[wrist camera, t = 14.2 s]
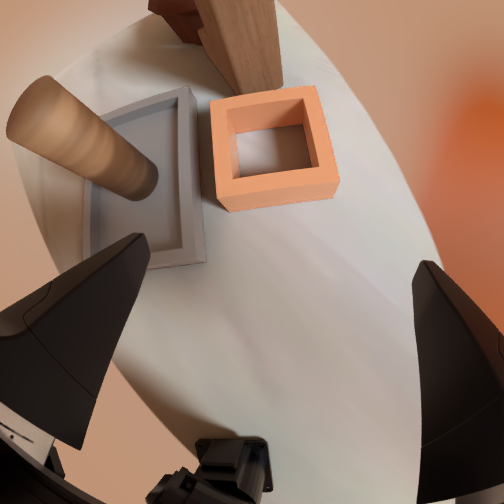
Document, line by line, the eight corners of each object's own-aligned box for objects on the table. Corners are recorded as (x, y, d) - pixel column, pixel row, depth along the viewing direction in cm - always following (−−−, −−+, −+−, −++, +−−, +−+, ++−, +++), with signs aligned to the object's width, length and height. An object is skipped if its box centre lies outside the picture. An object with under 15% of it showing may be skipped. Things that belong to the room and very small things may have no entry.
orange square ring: (332, 198, 22) (340, 181, 18) (229, 212, 23) (216, 198, 19) (313, 112, 23) (315, 85, 19) (221, 125, 24) (209, 101, 20)
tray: (206, 262, 23) (196, 259, 21) (99, 275, 24) (83, 274, 22) (196, 100, 25) (188, 85, 23) (104, 129, 26) (92, 119, 24)
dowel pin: (165, 184, 23) (56, 101, 9) (129, 210, 24) (6, 155, 10) (148, 151, 24) (51, 64, 10) (115, 176, 24) (6, 111, 10)
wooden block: (207, 56, 26) (148, -72, 8) (243, 40, 25) (204, -91, 8) (243, 106, 24) (184, -63, 6) (285, 87, 24) (263, -83, 6)
